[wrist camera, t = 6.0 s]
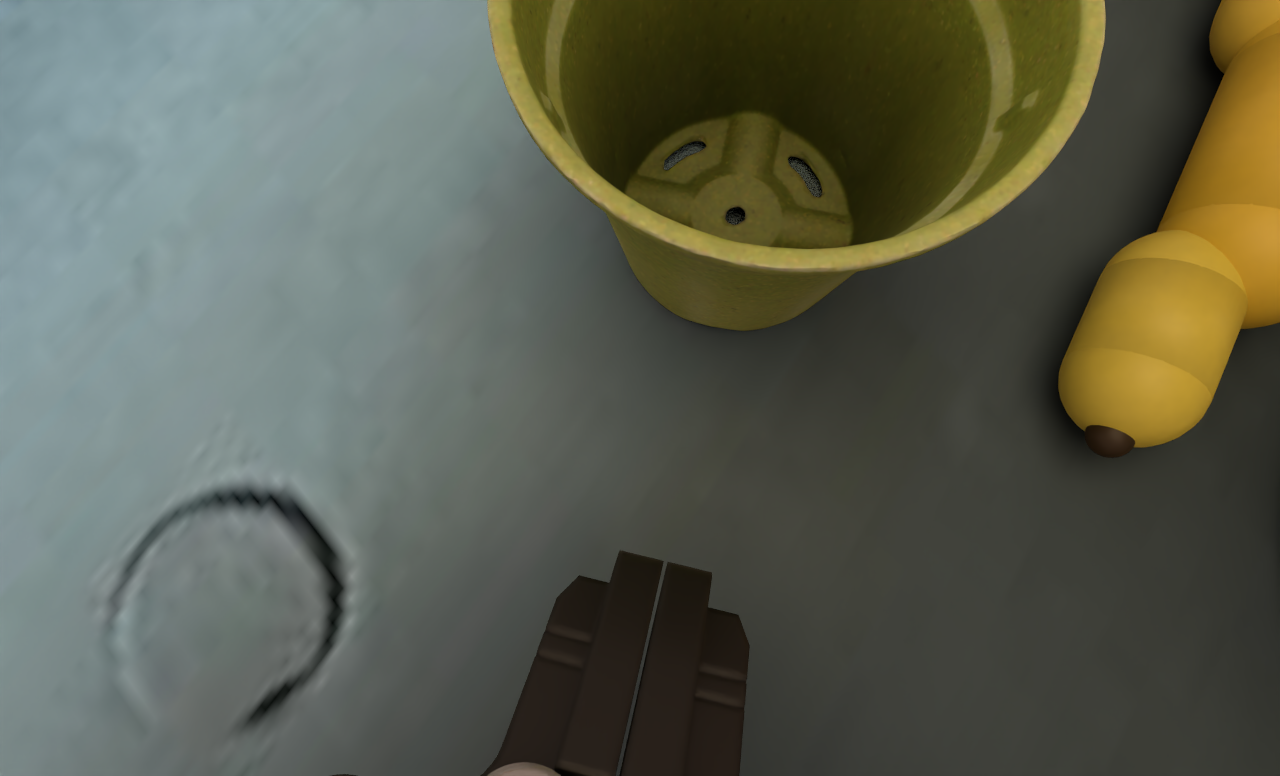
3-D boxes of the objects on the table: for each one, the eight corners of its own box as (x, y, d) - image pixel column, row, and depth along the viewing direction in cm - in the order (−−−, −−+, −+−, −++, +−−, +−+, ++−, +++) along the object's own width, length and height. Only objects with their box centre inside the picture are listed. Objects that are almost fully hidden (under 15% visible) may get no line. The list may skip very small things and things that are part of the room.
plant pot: (768, 8, 21) (839, -354, 13) (989, 258, 19) (1244, 33, 11) (494, 187, 20) (374, -73, 12) (701, 468, 18) (734, 400, 10)
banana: (1177, 517, 18) (1303, 510, 14) (1009, 434, 18) (1091, 406, 15) (1394, -36, 21) (1542, -153, 17) (1244, -93, 21) (1359, -219, 18)
